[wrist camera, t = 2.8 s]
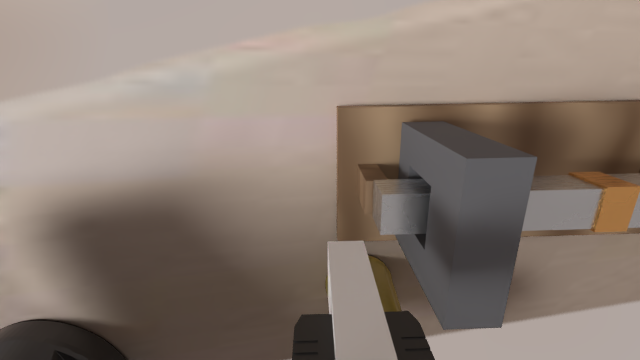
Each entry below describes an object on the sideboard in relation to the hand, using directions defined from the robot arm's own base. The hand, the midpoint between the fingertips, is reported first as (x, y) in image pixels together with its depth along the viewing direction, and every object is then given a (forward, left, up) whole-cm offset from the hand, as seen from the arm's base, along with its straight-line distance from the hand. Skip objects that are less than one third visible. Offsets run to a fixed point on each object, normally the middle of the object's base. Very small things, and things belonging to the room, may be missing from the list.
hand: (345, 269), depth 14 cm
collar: (+7, 0, -11) cm, 13 cm away
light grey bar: (+14, 0, -8) cm, 16 cm away
